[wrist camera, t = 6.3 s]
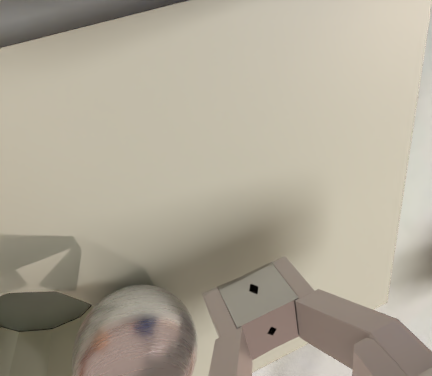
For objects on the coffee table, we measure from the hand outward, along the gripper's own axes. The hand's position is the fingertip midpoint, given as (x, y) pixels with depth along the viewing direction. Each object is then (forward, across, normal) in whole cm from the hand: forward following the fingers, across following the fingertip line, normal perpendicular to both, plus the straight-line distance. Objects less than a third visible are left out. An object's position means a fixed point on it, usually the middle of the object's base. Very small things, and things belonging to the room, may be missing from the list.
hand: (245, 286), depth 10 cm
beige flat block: (+4, +2, 0) cm, 4 cm away
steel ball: (0, +4, 0) cm, 4 cm away
